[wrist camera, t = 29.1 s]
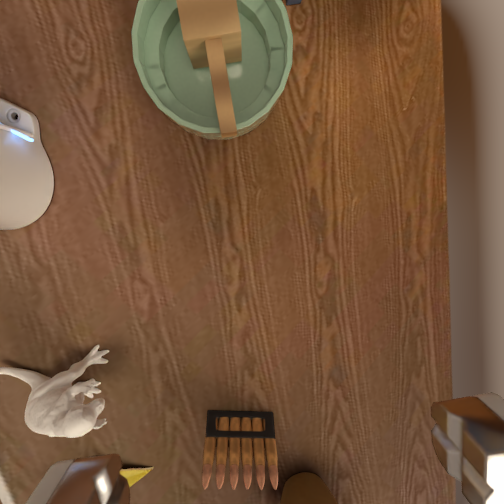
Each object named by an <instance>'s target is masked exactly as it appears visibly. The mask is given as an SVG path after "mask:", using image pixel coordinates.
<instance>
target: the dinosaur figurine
mask: <svg viewBox="0 0 504 504" xmlns="http://www.w3.org/2000/svg"><path fill="white" fill-rule="evenodd" d="M98 349H99V345H97V346H95V347H94V348H93V349H92V350H91V351H90V353H89V354H88V355H87V356H86V357H85V358H84V359H83V360H82V361H80V362H78V363H75V364H73V365H71V367H70V369H69V370H68V371H63V372H60V373H58V374H56V375H55V376H54V377H52V378H49V377H47V376H45V375H42V374H40V373H38V372H35V371H31V370H26V369H21V368H13V367H0V374H7V375H10V376H13V377H17V378H19V379H21V380H23V381H25V382H27V383H28V384H29V385H30V386H31V388H32V391H31V393H30V395H29V398H28V402H27V406H26V409H25V422H26V424H27V426H28V427H29V428H30V429H31V430H32V431H34V432H36V433H40V434H46V435H48V436H49V437H56V436H58V437H67V438H74V437H81V436H83V435H85V434H86V433H88V432H89V431H90V430H92V429H99V428H101V427H102V426H103V425H105V424H106V423H107V422H105V421H106V418H105V419H100V420H96V419H97V417H98V415H99V414H100V413H101V412H102V410H103V409H104V407H105V406H104V404H105V400H104V399H103V398H98V399H95V400H93V401H92V402H90V403H89V404H85V405H83V401H84V399H85V398H84V395H86V396H88V397H90V398H93V397H94V395H93V394H92V393H100V392H101V390H99V389H98V388H95V386H98V385H100V384H101V382H99V381H95V379H93V378H92V379H90V380H88V381H86V382H77V383H76V384H75V385H73V386H72V385H71V384H72V382H73V381H74V380H75V379H77V378H78V377H80V376H81V375H82V374H83V373H84V372H85V370H86V368H87V367H88V366H90V365H91V364H104V363H107V362H108V360H107V359H104V358H101V357H102V356H103V355H105V354H107V353H109V350H103V351H98Z"/></svg>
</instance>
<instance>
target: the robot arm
mask: <svg viewBox="0 0 504 504" xmlns="http://www.w3.org/2000/svg"><path fill="white" fill-rule="evenodd" d="M16 114H17V115H18V119H17V120H16V118H15V116H16ZM53 189H54V176H53V170H52V166H51V163H50V161H49V158H48V156H47V154H46V152H45V150H44V148H43V146H42V143H41V140H40V128H39V123H38V120H37V118H36V116H35V115H34V114H33V113H31V112H29V111H27V110H25V109H23V108H21V107H19V106H17V105H15V104H12V103H10V102H8V101H6V100H4V99H2V98H0V230H13V229H18V228H22V227H25V226H27V225H30V224H31V223H33V222H35V221H36V220H37V219H38V218H40V217H41V216H42V214H43V213H44V212H45V211H46V209H47V208H48V206H49V204H50V201H51V199H52V195H53ZM431 416H432V418H433V419H434V420H435V421H436V422H437V423H436V424H435V426H434V427H433V428H432V430H431V435H432V443H433V446H434V449H435V452H436V455H437V457H438V459H439V460H440V462H441V464H442V466H443V467H444V468H445V470H446V471H447V473H448V474H449V475H451V476H453V477H454V478H456V479H458V480H459V481H461V482H462V493H463V495H464V496H465V497H466V499H467V500H468V501H469V503H470V504H504V399H503V398H502V397H501V396H499V395H497V394H495V393H492V392H491V393H485V394H480V395H474V396H471V397H470V396H469V397H463V398H457V399H451V400H445V401H439V402H433V404H432V406H431ZM122 466H123V464H122V461H121V459H120V456H119V454H108V455H100V456H93V457H85V458H77V459H74V460H66V461H58V462H56V463H55V464H53V465H52V466H51V467H50V468H49V470H48V471H47V473H46V474H45V475H44V477H43V478H42V480H41V481H40V483H39V484H38V486H37V487H36V489H35V490H34V492H33V493H32V495H31V496H30V498H29V499H28V500H27V502H26V503H25V504H129V502H130V488H129V484H128V480H127V479H126V478H125V477H124V476H122V475H121V474H120V471H121V468H122Z"/></svg>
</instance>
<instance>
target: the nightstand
mask: <svg viewBox="0 0 504 504" xmlns="http://www.w3.org/2000/svg"><path fill="white" fill-rule="evenodd" d="M299 3H301V0H286V5H292V4H299Z"/></svg>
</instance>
